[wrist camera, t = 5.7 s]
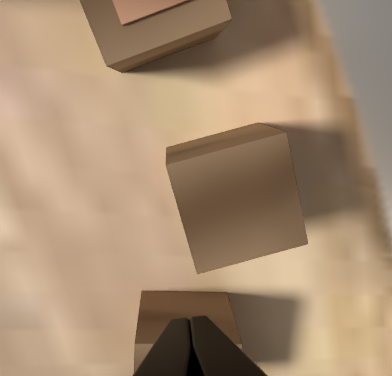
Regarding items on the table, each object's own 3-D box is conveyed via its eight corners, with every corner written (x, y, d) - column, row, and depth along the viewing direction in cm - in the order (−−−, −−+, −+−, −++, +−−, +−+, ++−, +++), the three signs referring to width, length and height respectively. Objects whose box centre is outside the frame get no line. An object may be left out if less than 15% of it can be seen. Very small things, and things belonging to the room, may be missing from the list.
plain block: (275, 209, 21) (308, 243, 16) (190, 232, 21) (197, 274, 16) (257, 122, 20) (286, 132, 15) (166, 147, 20) (165, 165, 15)
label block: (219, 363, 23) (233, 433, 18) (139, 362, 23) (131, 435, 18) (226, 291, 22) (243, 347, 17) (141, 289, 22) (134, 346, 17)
